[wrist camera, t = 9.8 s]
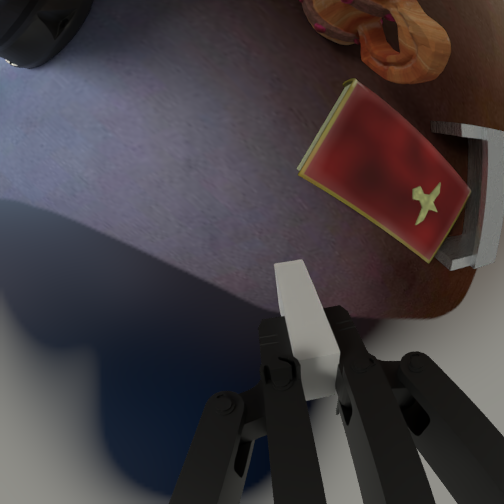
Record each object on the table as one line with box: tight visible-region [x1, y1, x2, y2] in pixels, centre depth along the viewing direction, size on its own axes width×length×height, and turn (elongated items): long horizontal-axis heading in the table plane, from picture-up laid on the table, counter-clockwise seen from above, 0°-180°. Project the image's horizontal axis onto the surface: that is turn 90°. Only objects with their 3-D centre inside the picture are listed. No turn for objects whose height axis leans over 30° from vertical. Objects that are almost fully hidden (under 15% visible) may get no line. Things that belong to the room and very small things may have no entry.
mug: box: [299, 0, 451, 84], centre depth 14 cm, size 15×8×15 cm, turn 22°
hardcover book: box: [297, 78, 472, 264], centre depth 27 cm, size 12×21×4 cm, turn 62°
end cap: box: [431, 121, 504, 271], centre depth 26 cm, size 9×18×7 cm, turn 9°
